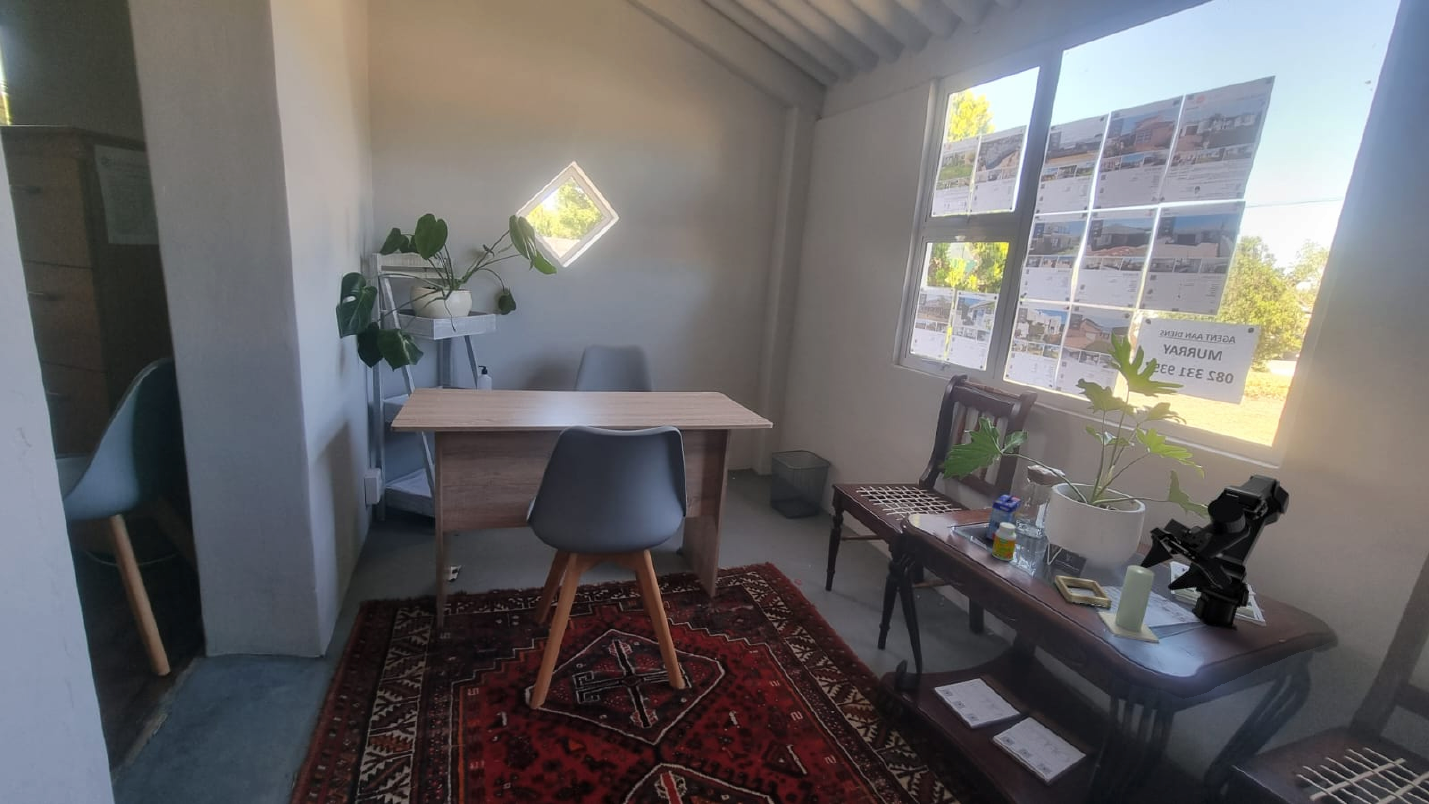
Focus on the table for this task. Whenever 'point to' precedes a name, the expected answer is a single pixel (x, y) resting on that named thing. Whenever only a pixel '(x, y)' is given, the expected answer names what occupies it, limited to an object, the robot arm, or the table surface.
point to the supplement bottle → (1004, 542)
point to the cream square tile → (1118, 631)
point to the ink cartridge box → (1003, 513)
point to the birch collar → (1077, 598)
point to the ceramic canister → (1134, 598)
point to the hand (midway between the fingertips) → (1154, 577)
